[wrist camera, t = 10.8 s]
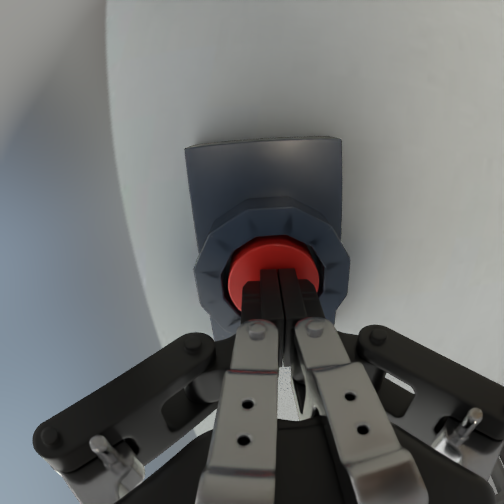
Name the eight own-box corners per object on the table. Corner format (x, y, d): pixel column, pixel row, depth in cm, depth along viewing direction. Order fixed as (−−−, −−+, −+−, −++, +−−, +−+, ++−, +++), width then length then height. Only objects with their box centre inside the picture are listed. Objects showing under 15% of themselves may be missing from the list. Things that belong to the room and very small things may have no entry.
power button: (226, 232, 14) (222, 247, 12) (312, 226, 14) (320, 240, 12) (234, 304, 15) (233, 325, 14) (311, 298, 15) (317, 319, 14)
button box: (193, 144, 14) (174, 152, 11) (329, 136, 14) (355, 141, 10) (220, 333, 19) (214, 377, 16) (325, 325, 19) (338, 368, 15)
